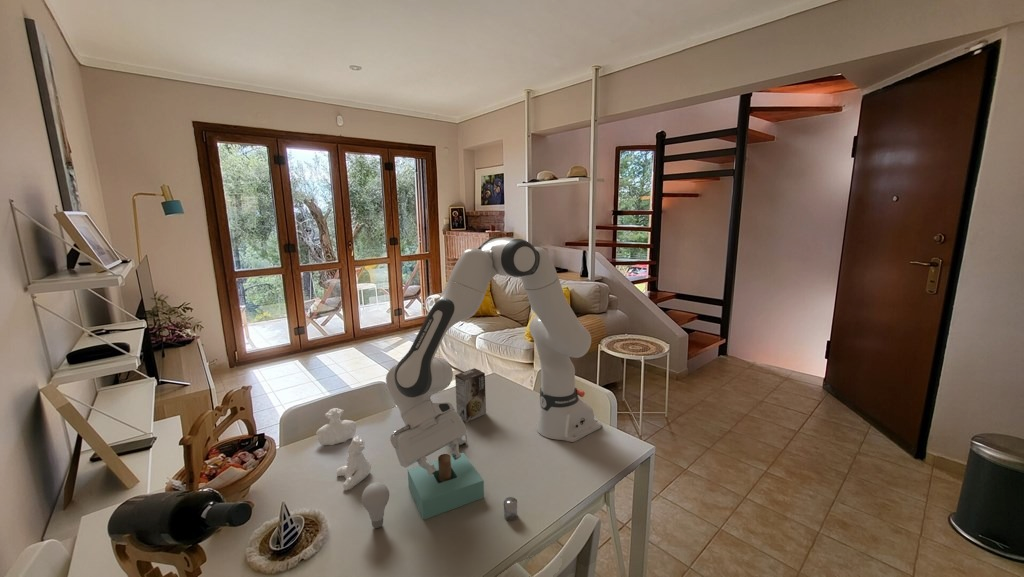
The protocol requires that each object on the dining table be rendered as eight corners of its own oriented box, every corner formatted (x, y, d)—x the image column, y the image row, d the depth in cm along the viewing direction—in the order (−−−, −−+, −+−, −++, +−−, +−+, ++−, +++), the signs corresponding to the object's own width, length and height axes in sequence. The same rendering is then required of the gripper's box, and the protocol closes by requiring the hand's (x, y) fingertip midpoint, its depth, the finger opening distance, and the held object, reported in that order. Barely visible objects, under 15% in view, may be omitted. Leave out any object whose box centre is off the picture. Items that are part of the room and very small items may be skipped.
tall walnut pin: (449, 486, 109) (448, 452, 107) (453, 493, 106) (452, 458, 104) (438, 490, 108) (436, 456, 106) (442, 497, 105) (440, 462, 103)
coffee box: (475, 408, 153) (474, 367, 150) (486, 414, 148) (485, 372, 145) (455, 416, 147) (454, 374, 144) (466, 422, 142) (465, 379, 139)
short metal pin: (513, 509, 100) (513, 495, 100) (519, 518, 98) (519, 503, 97) (501, 514, 99) (501, 499, 98) (507, 522, 96) (507, 508, 95)
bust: (357, 440, 135) (351, 407, 140) (359, 436, 130) (353, 401, 134) (317, 451, 130) (313, 416, 134) (318, 447, 124) (313, 410, 128)
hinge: (468, 446, 128) (456, 419, 125) (454, 452, 127) (442, 426, 125) (462, 420, 144) (452, 396, 141) (450, 425, 143) (439, 402, 141)
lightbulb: (374, 514, 99) (371, 474, 97) (396, 520, 97) (393, 479, 95) (358, 533, 93) (354, 491, 91) (381, 539, 91) (378, 496, 89)
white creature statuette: (335, 474, 114) (331, 435, 112) (365, 463, 120) (362, 425, 117) (344, 492, 107) (341, 451, 105) (377, 479, 112) (374, 440, 110)
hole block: (463, 468, 117) (463, 452, 116) (483, 497, 105) (483, 480, 104) (408, 485, 109) (407, 469, 108) (423, 519, 97) (422, 501, 96)
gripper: (391, 429, 100) (417, 481, 96) (455, 400, 115) (479, 444, 111) (383, 439, 104) (407, 489, 99) (445, 410, 119) (469, 453, 114)
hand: (446, 465), depth 105 cm, fingers open, 7 cm apart
